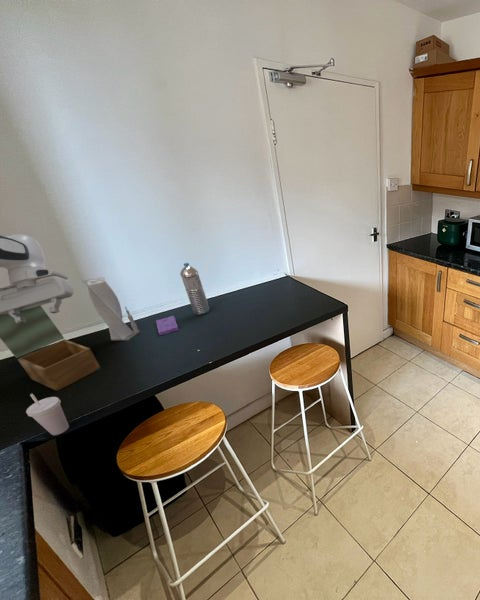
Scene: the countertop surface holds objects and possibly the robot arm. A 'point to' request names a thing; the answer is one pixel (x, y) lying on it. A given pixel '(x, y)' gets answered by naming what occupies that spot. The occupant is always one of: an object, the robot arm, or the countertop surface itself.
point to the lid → (28, 331)
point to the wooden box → (59, 364)
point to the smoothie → (49, 414)
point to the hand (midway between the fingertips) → (38, 317)
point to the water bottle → (194, 290)
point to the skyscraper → (110, 309)
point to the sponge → (166, 325)
